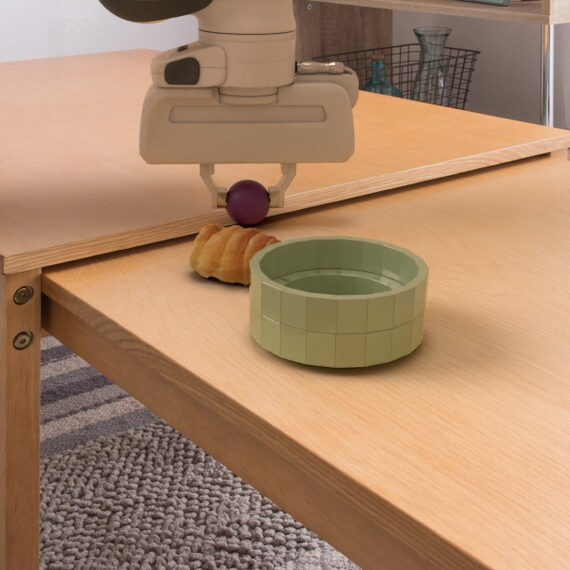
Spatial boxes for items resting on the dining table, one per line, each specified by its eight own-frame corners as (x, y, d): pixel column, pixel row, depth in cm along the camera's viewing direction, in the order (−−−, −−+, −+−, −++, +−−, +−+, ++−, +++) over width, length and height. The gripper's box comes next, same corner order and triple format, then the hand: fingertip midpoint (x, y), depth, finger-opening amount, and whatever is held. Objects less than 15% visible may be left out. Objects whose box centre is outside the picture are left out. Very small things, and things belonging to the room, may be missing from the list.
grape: (225, 231, 88) (225, 186, 86) (224, 217, 92) (223, 174, 91) (272, 230, 89) (272, 186, 87) (268, 216, 93) (268, 174, 91)
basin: (255, 378, 61) (255, 301, 58) (245, 304, 72) (245, 237, 70) (441, 373, 62) (448, 296, 60) (402, 300, 73) (407, 234, 71)
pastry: (316, 268, 79) (317, 226, 78) (287, 297, 73) (287, 252, 72) (216, 253, 82) (216, 212, 81) (181, 279, 77) (179, 236, 75)
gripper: (354, 56, 88) (348, 196, 94) (137, 56, 87) (144, 198, 92) (365, 67, 83) (358, 215, 88) (133, 66, 81) (140, 218, 86)
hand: (247, 207), depth 90 cm, fingers closed on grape, 4 cm apart
